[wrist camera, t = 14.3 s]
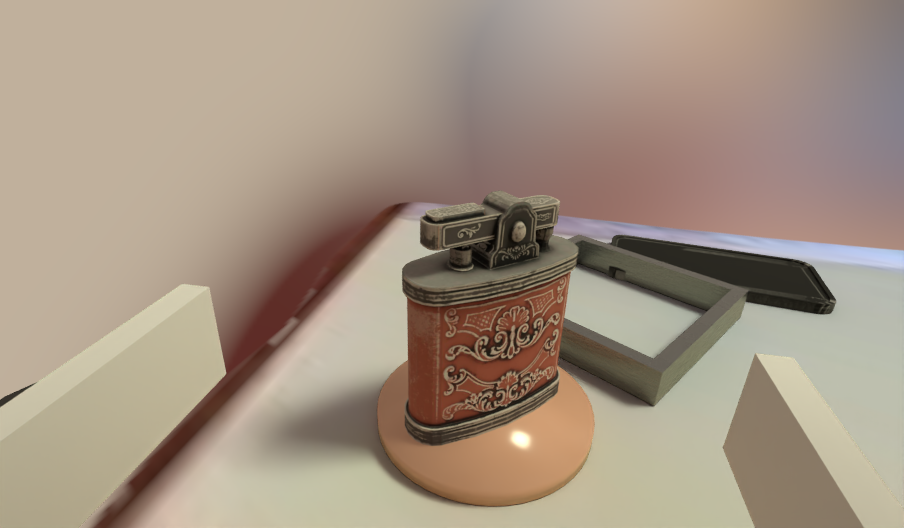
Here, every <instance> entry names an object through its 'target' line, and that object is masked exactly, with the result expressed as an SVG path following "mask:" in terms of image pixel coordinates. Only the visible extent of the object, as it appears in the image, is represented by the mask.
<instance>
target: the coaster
mask: <svg viewBox="0 0 904 528" xmlns="http://www.w3.org/2000/svg"><path fill="white" fill-rule="evenodd" d="M557 368H558V370H559V372H560V379H559V386H558V392H557V394H556V395H555V397H554V398H552V399H551V400H549V401H548V402H546V403H545V404H543V405H542V406H541V407H539V408H538V409H536V410H535V411H533V412H531V413H530V414H528V415H526V416H524V417H522V418H520V419H518V420H516V421H514V422H512V423H510V424H508V425H506V426H503V427H501V428H498V429H495V430H492V431H490V432H487V433H484V434H481V435H479V436H476V437H472V438H468V439H465V440H461V441H457V442H453V443H449V444H445V445H440V446H429V445H424V444H421V443H419V442H417V441H415V440H414V439H413V438H412V437H411V436H410V435H409V434H408V433H407V430H406V428H405V402H406V400H407V399H408V360H407V361H406V362H404V363H403V364H402V365H401V366H399V367H398V368H397V369H396V370H395V371H394V372H393V373H392V374H391V375H390V377H389V378H388V379H387V381H386V382H385V384H384V386H383V388H382V390H381V392H380V395H379V399H378V406H377V417H378V432H379V436H380V440H381V443H382V446H383V448H384V450H385V452H386V454H387V455H388V457H389V458H390V460H391V461H392V462H393V464H394V465H395V466H396V467H397V468H398V469H399V470H400V471H401V472H402V473H403V474H404V475H405V476H406V477H408V478H409V479H410V480H412V481H413V482H414V483H416V484H418V485H419V486H421V487H423V488H424V489H426V490H428V491H430V492H432V493H435V494H437V495H439V496H441V497H444V498H448V499H451V500H454V501H457V502H462V503H468V504H473V505H484V506H507V505H514V504H521V503H526V502H529V501H533V500H536V499H540V498H542V497H544V496H547V495H549V494H551V493H553V492H555V491H557V490H558V489H560V488H561V487H563V486H565V485H566V484H567V483H568V482H569V481H571V480H572V479H573V478H574V477H575V476H576V475H577V473H578V472H579V471H580V470H581V469H582V467H583V465H584V463H585V462H586V460H587V458H588V455H589V452H590V449H591V444H592V439H593V433H594V414H593V410H592V406H591V404H590V401H589V399H588V397H587V395H586V394H585V392H584V391H583V389H582V388H581V386H580V385H579V384H578V383H577V382H576V381H575V379H574V378H572V377H571V376H570V375H569V374H568V373H567V372H566V371H564V370H563V369H562V368H560V367H559V366H558V365H557Z"/></svg>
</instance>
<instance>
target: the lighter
mask: <svg viewBox="0 0 904 528" xmlns="http://www.w3.org/2000/svg"><path fill="white" fill-rule="evenodd" d="M559 205H560V201H559V200H557V199H555V198H553V197H550V196H545V195H538V196H532V197H526V198H520V199H519V198H516V197H514V196H512V195H509V194H507V193H505V192H503V191H495V192H491V193H490V194H488V195H487V196H486V198H485V199H484V201H483V203H482V204H481V205H477V204H475V203H468V204H462V205H456V206H450V207H444V208H438V209H432V210H427V211H426V215H423V216H421V218H420V243H421V244H422V245H423V246H424V247H425V248H427V249H429V250H445V249H449V248H450V249H449V250H445V251H441V252H438V253H435V254H432V255H429V256H426V257H423V258H420V259H417V260H414V261H411V262H409V263H407V264H406V265H405V266H404V267H403V269H402V285H403V293H404V294H405V295H406V297H407V312H408V399H407V400H406V402H405V428H406V430H407V433H408V434H409V435H410V436H411V437H412V438H413V439H414V440H415V441H417V442H419V443H421V444H424V445H429V446H440V445H445V444H449V443H453V442H457V441H461V440H465V439H468V438H472V437H476V436H479V435H481V434H484V433H487V432H490V431H492V430H495V429H498V428H501V427H503V426H506V425H508V424H510V423H512V422H514V421H516V420H518V419H520V418H522V417H524V416H526V415H528V414H530V413H531V412H533V411H535V410H536V409H538V408H539V407H541V406H542V405H543V404H545V403H546V402H548V401H549V400H551V399H552V398H554V397H555V395H556V394H557V392H558V386H559V379H560V372H559V370H558V368H557V364H558V357H559V350H560V343H561V336H562V329H563V322H564V315H565V308H566V301H567V294H568V287H569V280H570V273H571V271H572V270H574V269H575V268H576V262H577V256H578V247H577V246H576V245H575V244H574V243H573V242H571V241H569V240H567V239H564V238H562V237H558V236H554V235H552V234H553V228H554V226H555V225H557V221H558V212H559Z"/></svg>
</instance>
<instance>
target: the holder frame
mask: <svg viewBox="0 0 904 528" xmlns="http://www.w3.org/2000/svg"><path fill="white" fill-rule="evenodd" d="M568 240H569V241H571V242H573V243H574V244H575V245H576V246H577V247H578V256H577V262H576V264H578V263H579V264H582V265H585V266H587V267H590V268H593V269H596V270H598V271H601V272H604V273H606V274H608V271H609V266H611V267H614V268H617V269H620V270H623V271H625V272H626V273H625V278H624V280H625V281H628V282H631V283H634V284H636V285H639V286H642V287H644V288H647V289H650V290H653V291H655V292H658V293H661V294H663V295H666V296H669V297H672V298H674V299H677V300H680V301H682V302H685V303H688V304H691V305H693V306H696V307H699V308H701V309H704V310H707V312H706V313H705V314H704V315H703V316H701V317H700V318H699V319H698V320H697V321H696V322H695V323H694V324H692V325H691V326H690V327H689V328H688V329H687V330H686V331H685V332H684V333H682V334H681V335H680V336H679V337H678V338H677V339H676V340H675V341H673V342H672V343H671V344H670V345H669V346H668V347H667V348H666V349H665V350H663V351H662V352H661V353H660V354H659V355H658V356H657V357H656V358H654V359H653V358H651V357H648V356H646V355H644V354H642V353H640V352H638V351H635V350H633V349H631V348H629V347H627V346H624V345H622V344H620V343H618V342H616V341H614V340H611V339H609V338H607V337H605V336H603V335H600V334H598V333H596V332H594V331H592V330H589V329H587V328H585V327H583V326H581V325H579V324H576V323H574V322H572V321H570V320H568V319H565V318H564V322H563V329H562V336H561V343H560V350H559V357H561V358H563V359H565V360H567V361H569V362H570V363H572V364H574V365H576V366H578V367H580V368H582V369H584V370H586V371H588V372H590V373H592V374H594V375H596V376H597V377H599V378H601V379H603V380H605V381H607V382H609V383H611V384H613V385H615V386H617V387H619V388H621V389H622V390H624V391H626V392H628V393H630V394H632V395H634V396H636V397H638V398H640V399H642V400H644V401H646V402H648V403H649V404H651V405H653V406H655V405H656V403H657V402H658V401H659V400H660V399H661V398H662V397H663V396H664V395H665V394H666V393H667V392H668V391H669V390H670V389H671V388H672V387H673V386H674V385H675V384H676V383H677V382H678V381H679V380H680V379H681V378H682V377H683V376H684V375H685V374H686V373H687V372H688V371H689V370H690V369H691V367H692V366H693V365H694V364H695V363H696V362H697V361H698V360H699V359H700V358H701V357H702V356H703V355H704V354H705V353H706V352H707V351H708V350H709V349H710V348H711V347H712V346H713V345H714V344H715V343H716V342H717V341H718V340H719V339H720V338H721V337H722V336H723V335H724V334H725V333H726V331H727V330H728V329H729V328H730V327H731V326H732V325H733V324H734V323H735V322H736V321H737V320H738V319H739V318H740V317H741V314H742V311H743V308H744V304H745V301H746V298H747V295H748V292H749V290H747V289H744V288H741V287H738V286H735V285H732V284H729V283H726V282H723V281H720V280H716V279H713V278H710V277H707V276H704V275H701V274H698V273H695V272H692V271H689V270H686V269H683V268H680V267H677V266H674V265H671V264H667V263H664V262H661V261H658V260H655V259H652V258H649V257H646V256H643V255H640V254H637V253H634V252H631V251H628V250H625V249H622V248H618V247H615V246H612V245H609V244H606V243H603V242H600V241H597V240H594V239H591V238H588V237H585V236H582V235H577V236H575V237H572V238H570V239H568Z"/></svg>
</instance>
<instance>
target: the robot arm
mask: <svg viewBox="0 0 904 528" xmlns="http://www.w3.org/2000/svg"><path fill="white" fill-rule="evenodd" d="M225 375H226V370H225V365H224V360H223V355H222V350H221V345H220V340H219V335H218V330H217V325H216V320H215V315H214V310H213V305H212V299H211V295H210V289H209V287H204V286H195V285H187V284H182V285H180V286H179V287H177V288H176V289H174V290H173V291H171V292H170V293H168V294H167V295H165V296H164V297H162V298H161V299H159V300H158V301H157V302H155V303H154V304H152V305H151V306H149V307H148V308H146V309H145V310H143V311H142V312H140V313H139V314H137V315H136V316H134V317H133V318H132V319H130V320H129V321H127V322H125V323H124V324H123V325H121V326H120V327H118V328H117V329H115V330H114V331H112V332H111V333H109V334H108V335H106V336H105V337H103V338H102V339H101V340H99V341H98V342H96V343H95V344H93V345H92V346H90V347H89V348H87V349H86V350H84V351H83V352H81V353H80V354H79V355H77V356H75V357H74V358H72V359H71V360H69V361H68V362H66V363H65V364H64V365H62V366H61V367H59V368H58V369H56V370H55V371H53V372H52V373H50V374H49V375H47V376H46V377H44V378H43V379H41V380H40V381H38V382H36V383H34V384H32V385H30V386H28V387H25V388H23V389H21V390H19V391H16V392H14V393H12V394H10V395H7V396H5V397H4V398H2V399H1V400H0V528H79V527H80V526H81V525H82V524H83V523H84V522H85V521H86V519H88V518H89V517H90V515H91V514H92V513H93V512H94V511H95V510H96V509H97V508H98V507H99V506H100V505H101V504H102V503H103V502H104V501H105V500H106V499H107V498H108V497H109V496H110V495H111V494H112V493H113V492H114V490H115V489H116V488H117V487H118V486H119V485H120V484H121V483H122V482H123V481H124V480H125V479H126V478H127V477H128V476H129V475H130V474H131V473H132V472H133V471H134V470H135V469H136V468H137V466H138V465H139V464H140V463H141V462H142V461H143V460H144V459H145V458H146V457H147V456H148V455H149V454H150V453H151V452H152V451H153V450H154V449H155V448H156V447H157V446H158V445H159V444H160V442H161V441H162V440H163V439H164V438H165V437H166V436H167V435H168V434H169V433H170V432H171V431H172V430H173V429H174V428H175V427H176V426H177V425H178V424H179V423H180V422H181V421H182V420H183V419H184V417H185V416H186V415H187V414H188V413H189V412H190V411H191V410H192V409H193V408H194V407H195V406H196V405H197V404H198V403H199V402H200V401H201V400H202V399H203V398H204V397H205V396H206V395H207V393H208V392H209V391H210V390H211V389H212V388H213V387H214V386H215V385H216V384H217V383H218V382H219V381H220V380H221V379H222V378H223V377H224V376H225ZM723 449H724V452H725V454H726V457H727V459H728V462H729V464H730V467H731V469H732V472H733V474H734V477H735V479H736V482H737V484H738V487H739V489H740V492H741V494H742V497H743V499H744V501H745V504H746V506H747V509H748V511H749V514H750V516H751V519H752V521H753V524H754V526H755V528H904V508H903V507H902V506H901V504H900V503H899V502H898V500H897V499H896V498H895V496H894V495H893V493H892V492H891V491H890V489H889V488H888V487H887V485H886V484H885V482H884V481H883V480H882V478H881V477H880V476H879V474H878V473H877V472H876V470H875V469H874V467H873V466H872V465H871V463H870V462H869V461H868V459H867V458H866V456H865V455H864V454H863V452H862V451H861V450H860V448H859V447H858V446H857V444H856V443H855V441H854V440H853V439H852V437H851V436H850V435H849V433H848V432H847V430H846V429H845V428H844V426H843V425H842V424H841V422H840V421H839V420H838V418H837V417H836V415H835V414H834V413H833V411H832V410H831V409H830V407H829V406H828V404H827V403H826V402H825V400H824V399H823V398H822V396H821V395H820V394H819V392H818V391H817V389H816V388H815V387H814V385H813V384H812V383H811V381H810V380H809V379H808V377H807V376H806V374H805V373H804V372H803V370H802V369H801V368H800V366H799V365H798V363H797V362H796V361H795V359H794V358H790V357H782V356H774V355H766V354H757V353H755V356H754V359H753V362H752V364H751V367H750V370H749V373H748V376H747V379H746V382H745V385H744V388H743V391H742V394H741V397H740V399H739V402H738V405H737V408H736V411H735V414H734V417H733V420H732V423H731V426H730V429H729V432H728V435H727V437H726V440H725V443H724V446H723Z"/></svg>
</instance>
